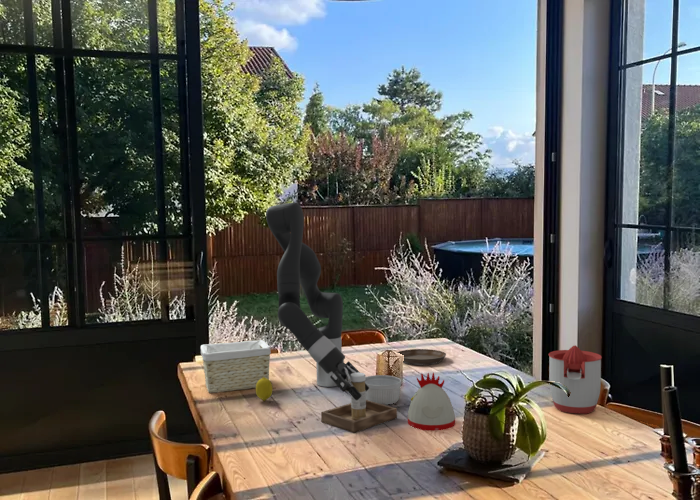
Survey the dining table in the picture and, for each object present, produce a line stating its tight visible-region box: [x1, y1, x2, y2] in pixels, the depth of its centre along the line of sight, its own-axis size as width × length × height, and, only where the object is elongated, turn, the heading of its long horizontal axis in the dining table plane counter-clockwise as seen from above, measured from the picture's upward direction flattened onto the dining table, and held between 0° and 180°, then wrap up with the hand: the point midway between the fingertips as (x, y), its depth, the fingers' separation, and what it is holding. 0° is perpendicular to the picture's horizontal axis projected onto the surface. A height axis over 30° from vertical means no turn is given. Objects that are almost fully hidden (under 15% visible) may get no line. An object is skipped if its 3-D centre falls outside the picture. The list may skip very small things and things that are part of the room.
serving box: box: [320, 400, 398, 434], centre depth 195 cm, size 18×14×3 cm
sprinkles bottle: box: [350, 372, 367, 420], centre depth 195 cm, size 5×5×14 cm
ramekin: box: [365, 374, 402, 406], centre depth 215 cm, size 13×13×7 cm
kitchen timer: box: [407, 372, 456, 432], centre depth 192 cm, size 14×14×15 cm
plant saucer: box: [396, 348, 447, 366], centre depth 270 cm, size 21×21×3 cm
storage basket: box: [200, 339, 272, 394], centre depth 236 cm, size 24×16×15 cm
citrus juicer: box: [548, 344, 603, 415], centre depth 201 cm, size 16×17×20 cm
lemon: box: [255, 377, 273, 402], centre depth 217 cm, size 6×6×8 cm
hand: (363, 394), depth 195 cm, fingers open, 8 cm apart
